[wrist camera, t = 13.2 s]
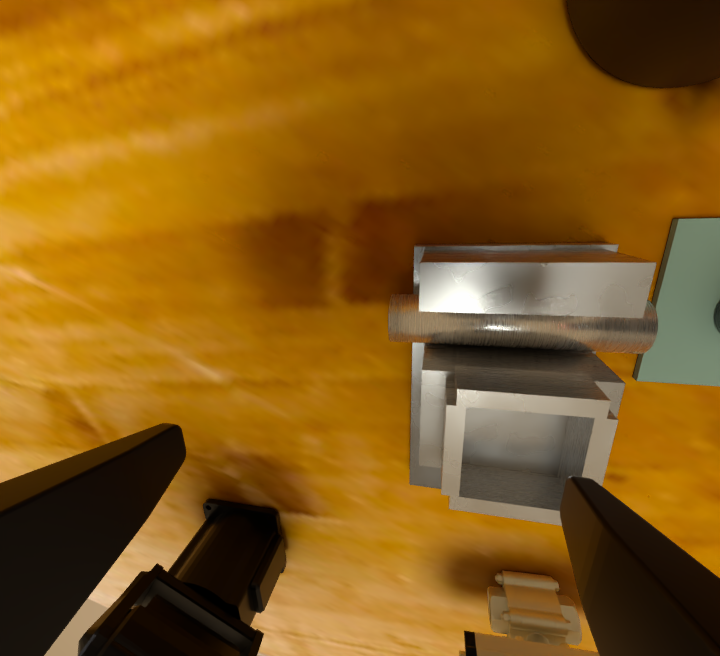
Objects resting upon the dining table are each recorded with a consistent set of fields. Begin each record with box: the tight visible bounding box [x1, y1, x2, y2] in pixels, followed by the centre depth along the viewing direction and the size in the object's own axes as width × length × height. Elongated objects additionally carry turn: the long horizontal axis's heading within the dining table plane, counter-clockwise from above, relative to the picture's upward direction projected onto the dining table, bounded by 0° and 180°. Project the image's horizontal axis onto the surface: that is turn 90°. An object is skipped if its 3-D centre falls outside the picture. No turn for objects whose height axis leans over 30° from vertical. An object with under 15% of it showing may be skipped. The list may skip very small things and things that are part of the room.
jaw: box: [419, 343, 625, 526], centre depth 16 cm, size 6×8×6 cm
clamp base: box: [388, 242, 658, 489], centre depth 17 cm, size 15×11×5 cm
